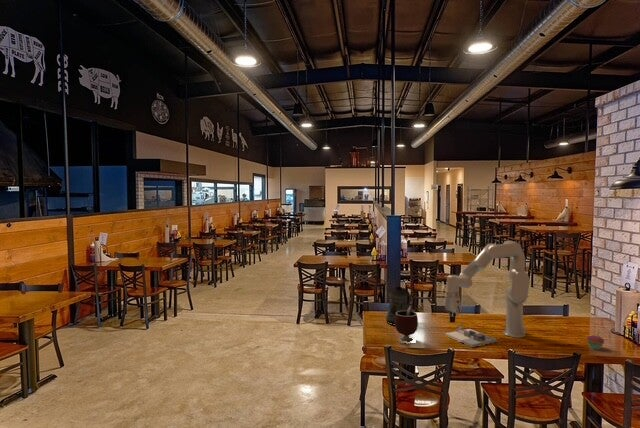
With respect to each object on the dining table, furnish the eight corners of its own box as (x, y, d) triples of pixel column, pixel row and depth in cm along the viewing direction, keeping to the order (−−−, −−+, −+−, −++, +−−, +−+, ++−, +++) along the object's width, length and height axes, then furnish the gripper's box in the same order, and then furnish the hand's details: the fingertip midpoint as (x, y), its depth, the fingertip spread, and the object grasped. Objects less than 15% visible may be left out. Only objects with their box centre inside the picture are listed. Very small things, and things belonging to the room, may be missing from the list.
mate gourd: (413, 346, 239) (413, 312, 238) (391, 342, 246) (391, 310, 246) (421, 338, 252) (421, 306, 252) (400, 335, 259) (400, 304, 259)
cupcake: (597, 345, 236) (597, 325, 235) (608, 350, 227) (608, 329, 227) (582, 345, 235) (582, 325, 235) (593, 351, 227) (593, 330, 226)
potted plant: (382, 324, 282) (382, 289, 281) (391, 317, 299) (391, 283, 298) (406, 327, 274) (405, 291, 273) (413, 320, 291) (413, 285, 290)
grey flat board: (445, 336, 255) (445, 328, 255) (469, 331, 263) (469, 324, 263) (471, 347, 235) (471, 339, 235) (497, 342, 243) (497, 334, 243)
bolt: (456, 330, 259) (456, 322, 259) (458, 330, 260) (458, 321, 260) (467, 335, 250) (467, 326, 249) (470, 334, 251) (470, 325, 250)
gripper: (465, 296, 257) (465, 324, 258) (449, 291, 271) (448, 318, 271) (456, 297, 254) (456, 326, 254) (440, 292, 267) (440, 319, 268)
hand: (452, 322), depth 263 cm, fingers closed
